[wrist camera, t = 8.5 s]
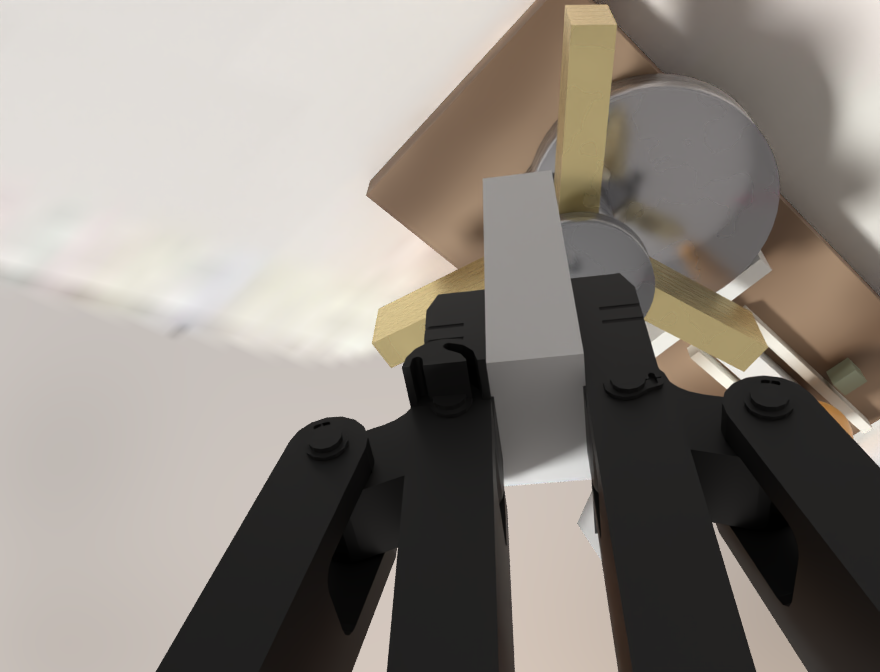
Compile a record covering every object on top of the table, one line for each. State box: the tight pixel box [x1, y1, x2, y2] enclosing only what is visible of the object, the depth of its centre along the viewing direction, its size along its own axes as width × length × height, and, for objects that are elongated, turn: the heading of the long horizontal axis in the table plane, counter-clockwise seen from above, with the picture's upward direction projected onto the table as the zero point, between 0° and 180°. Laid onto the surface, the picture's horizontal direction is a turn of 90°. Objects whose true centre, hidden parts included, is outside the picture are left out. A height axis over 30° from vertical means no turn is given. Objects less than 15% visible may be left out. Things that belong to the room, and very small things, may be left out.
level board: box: [366, 0, 880, 435], centre depth 39 cm, size 27×12×2 cm, turn 48°
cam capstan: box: [372, 5, 780, 372], centre depth 31 cm, size 16×14×8 cm
